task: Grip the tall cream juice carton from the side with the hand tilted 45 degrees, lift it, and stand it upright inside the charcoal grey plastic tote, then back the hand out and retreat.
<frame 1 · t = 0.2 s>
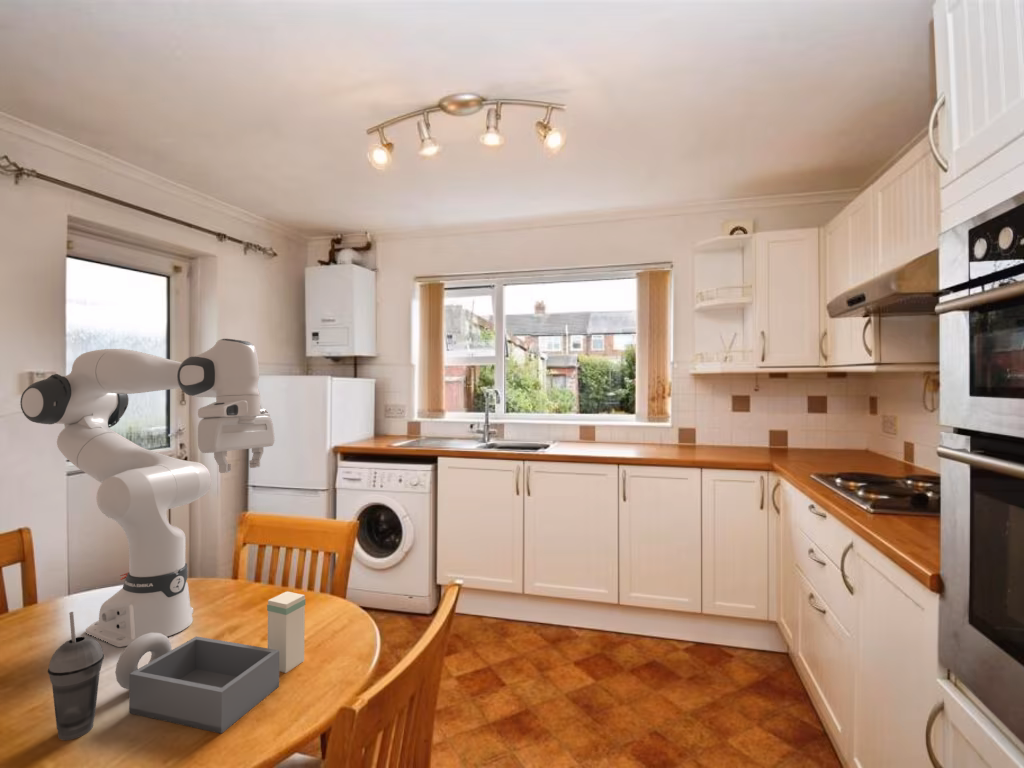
hand: (240, 470, 116), 39 cm above the table, tool pointing down, fingers open, 8 cm apart
tote: (207, 698, 95), on the table
juice carton: (286, 664, 107), on the table
donut: (144, 687, 99), on the table
beverage cup: (76, 732, 86), on the table
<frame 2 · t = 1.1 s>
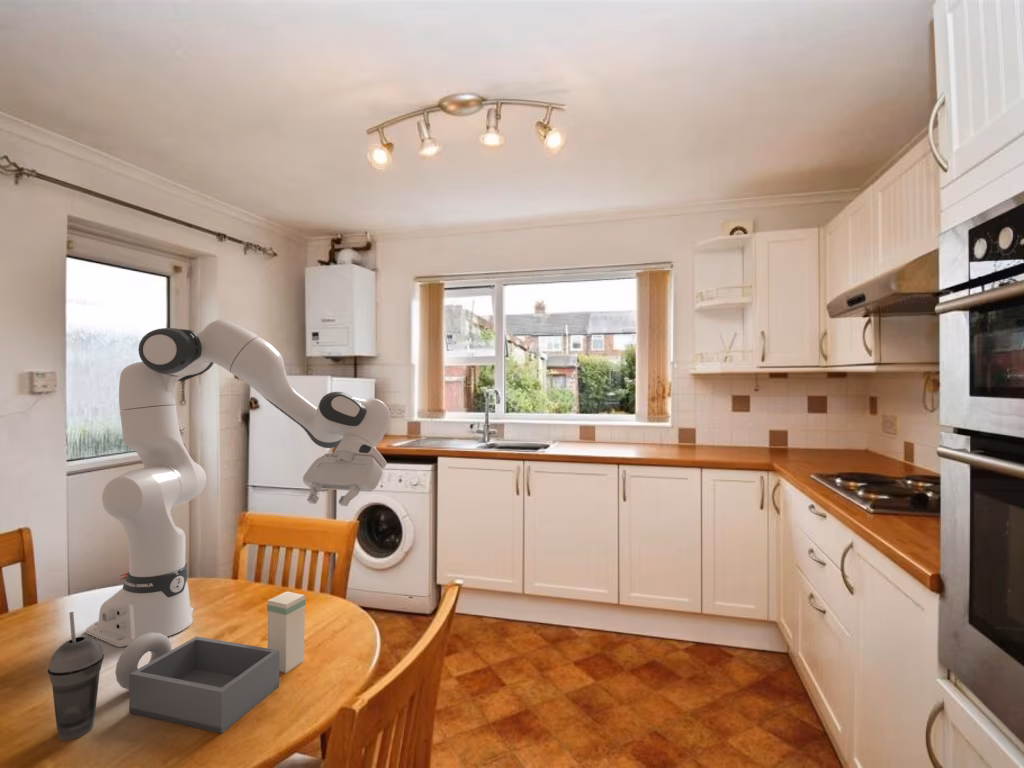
hand: (326, 503, 118), 31 cm above the table, tool tilted 45°, fingers open, 8 cm apart
nothing on the table moved.
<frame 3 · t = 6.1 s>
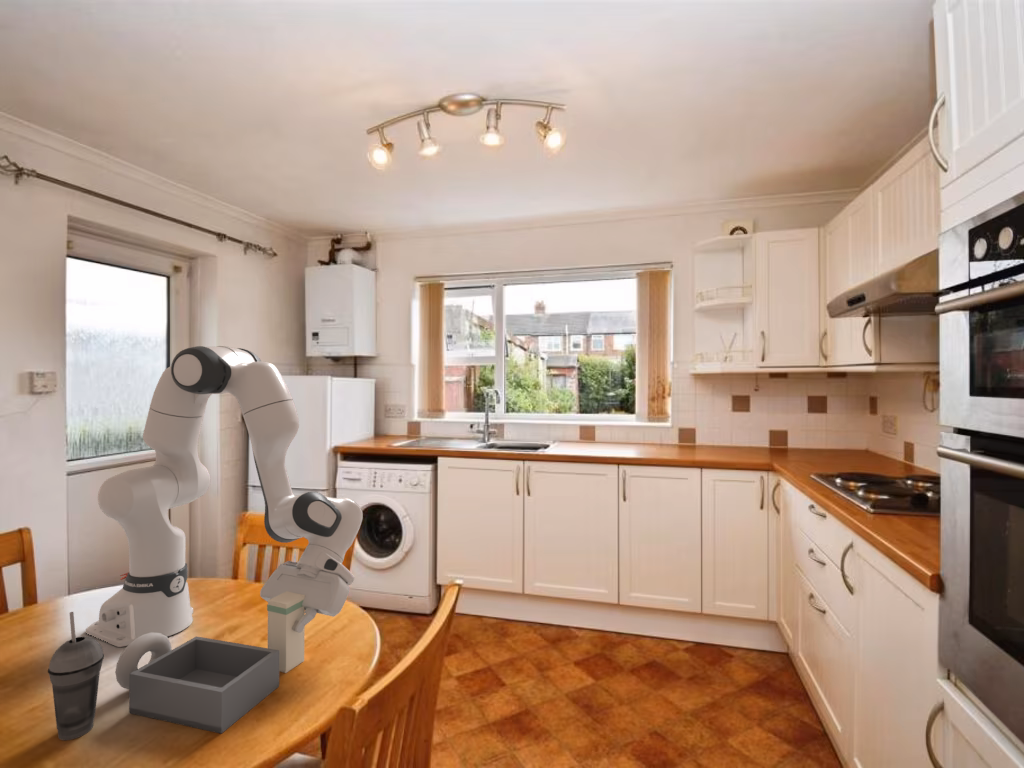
hand: (284, 628, 107), 8 cm above the table, tool tilted 45°, fingers closed on juice carton, 5 cm apart
juice carton: (286, 664, 107), on the table, touching gripper
everything else where it was.
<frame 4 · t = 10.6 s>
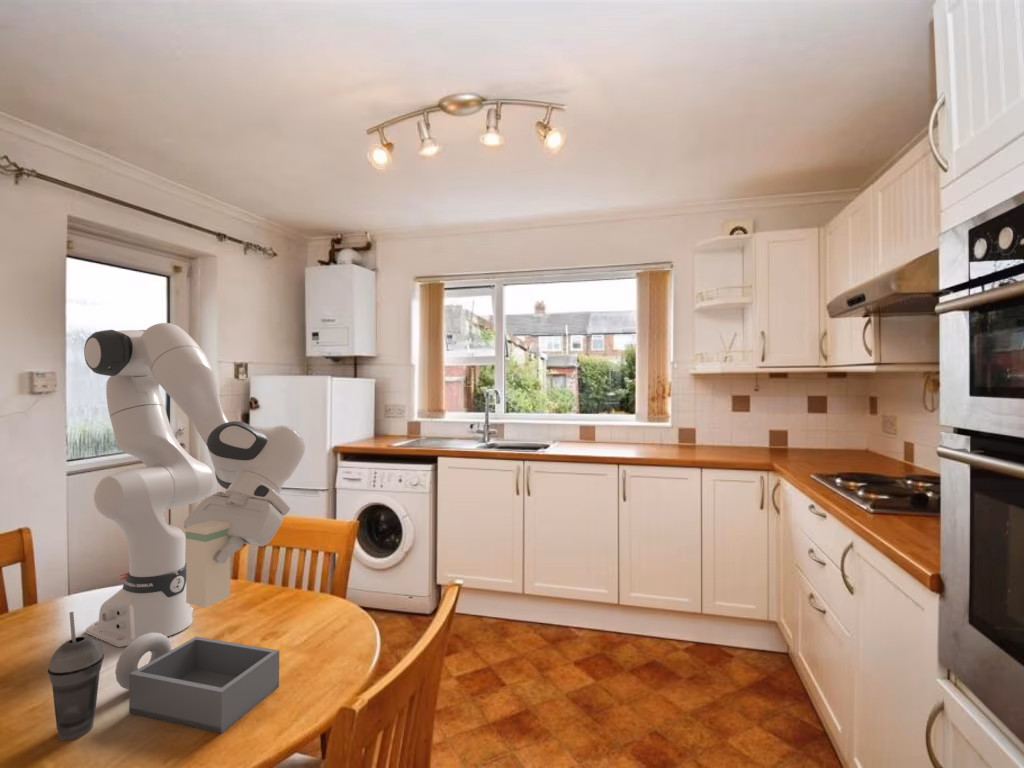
hand: (205, 559, 95), 26 cm above the table, tool tilted 45°, fingers closed on juice carton, 5 cm apart
juice carton: (208, 599, 95), point 19 cm above the table, touching gripper
everything else where it was.
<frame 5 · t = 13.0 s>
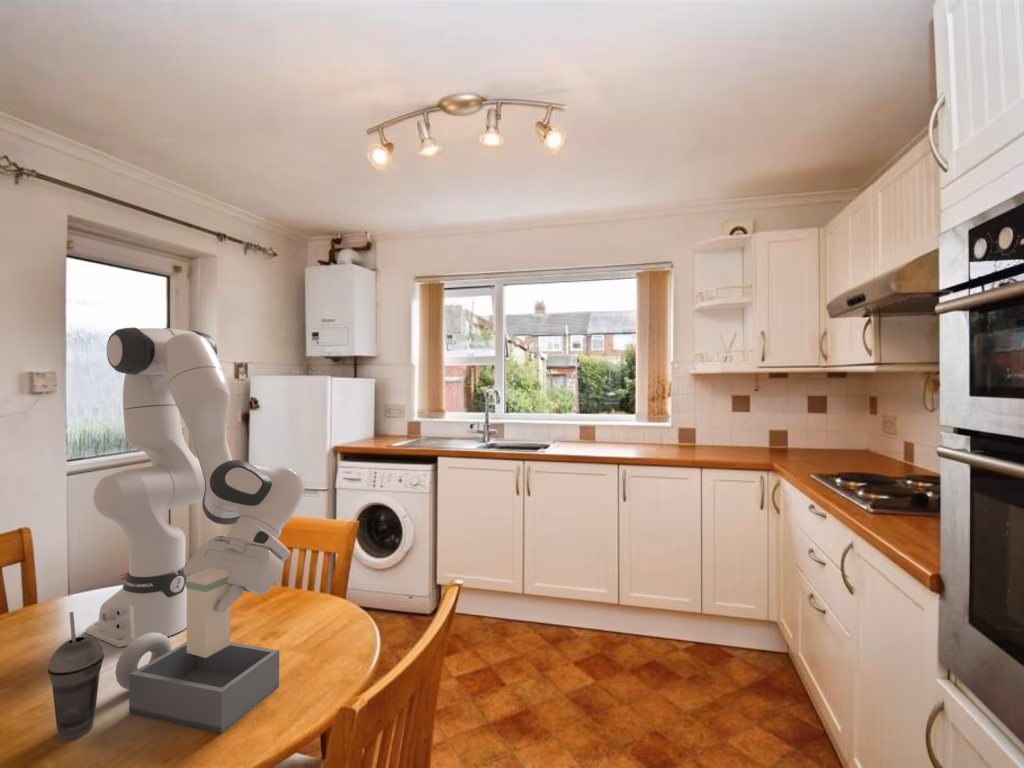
hand: (205, 608, 95), 17 cm above the table, tool tilted 45°, fingers closed on juice carton, 5 cm apart
juice carton: (208, 648, 95), point 9 cm above the table, touching gripper
everything else where it was.
when the fingers open (10 cm above the table, at t = 15.1 s): juice carton drops 1 cm, resting on tote.
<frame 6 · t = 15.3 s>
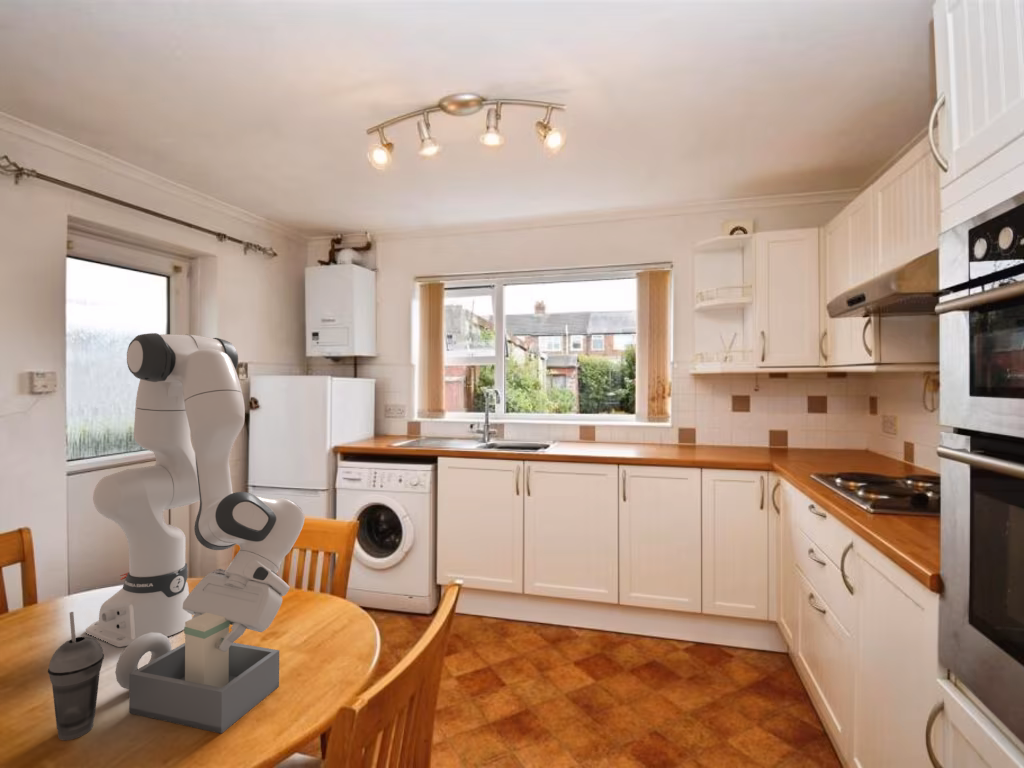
hand: (204, 645, 95), 10 cm above the table, tool tilted 45°, fingers open, 7 cm apart
juice carton: (207, 693, 95), point 1 cm above the table, touching tote
everything else where it was.
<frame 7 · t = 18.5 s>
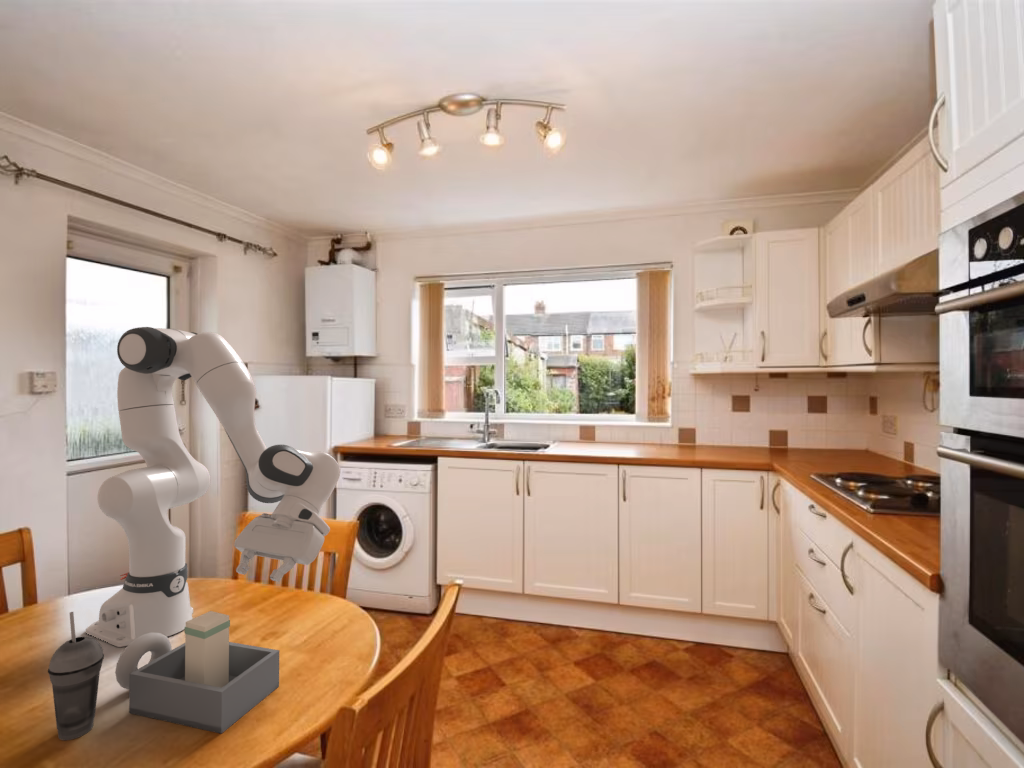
hand: (256, 576, 105), 19 cm above the table, tool tilted 45°, fingers open, 8 cm apart
nothing on the table moved.
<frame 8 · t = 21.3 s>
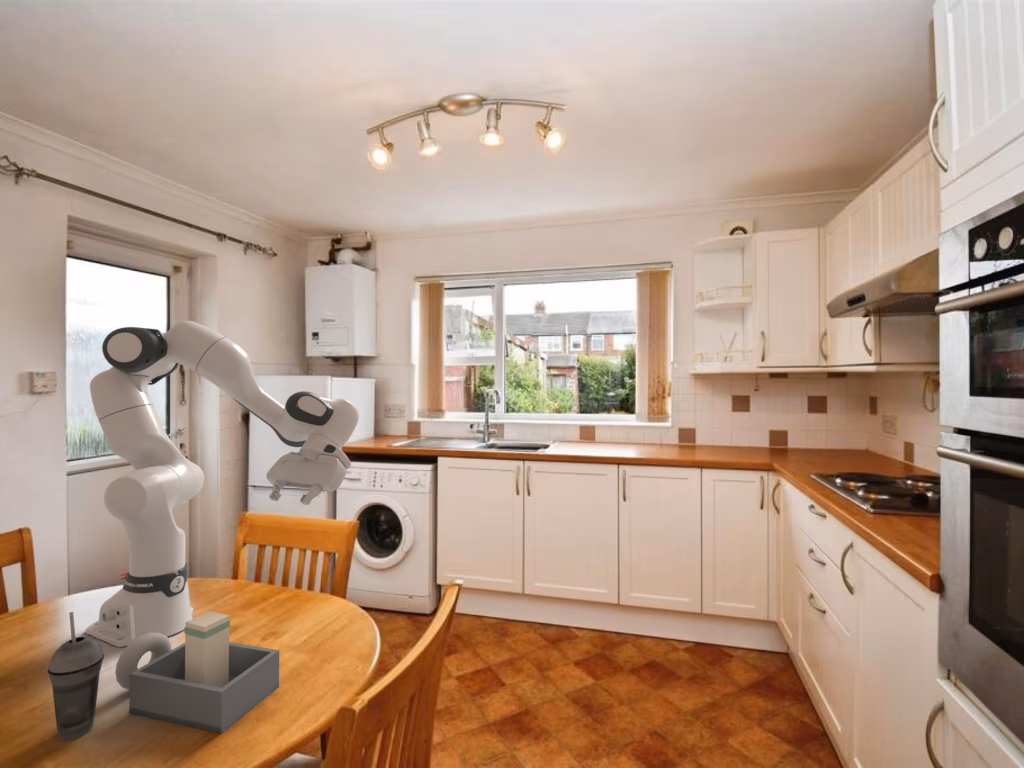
hand: (288, 501, 119), 31 cm above the table, tool tilted 45°, fingers open, 8 cm apart
nothing on the table moved.
at the end: juice carton inside the target area on the tote (0.1 cm from its centre), point 1.0 cm above the tote's base; juice carton tilted 0°; the gripper is holding nothing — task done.
